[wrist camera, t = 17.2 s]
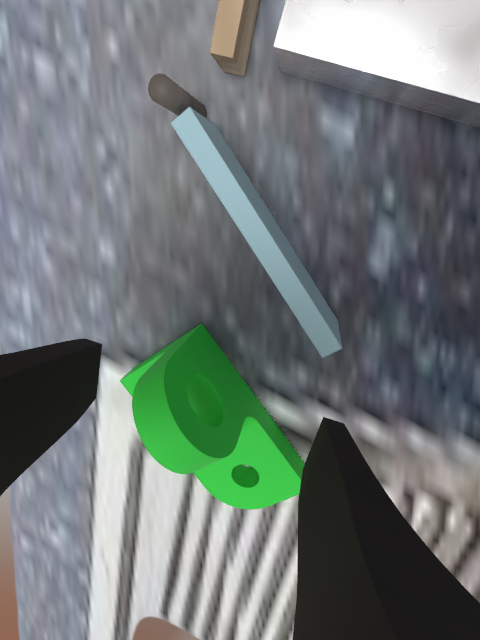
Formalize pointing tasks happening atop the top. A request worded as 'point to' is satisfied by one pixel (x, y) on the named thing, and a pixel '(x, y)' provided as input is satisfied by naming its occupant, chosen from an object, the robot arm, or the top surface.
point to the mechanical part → (211, 424)
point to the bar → (259, 228)
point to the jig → (214, 54)
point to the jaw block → (388, 51)
